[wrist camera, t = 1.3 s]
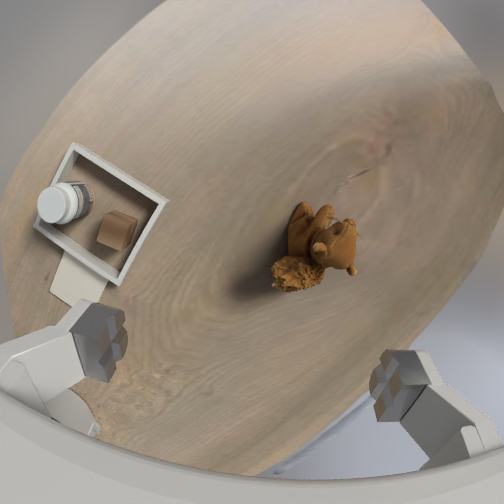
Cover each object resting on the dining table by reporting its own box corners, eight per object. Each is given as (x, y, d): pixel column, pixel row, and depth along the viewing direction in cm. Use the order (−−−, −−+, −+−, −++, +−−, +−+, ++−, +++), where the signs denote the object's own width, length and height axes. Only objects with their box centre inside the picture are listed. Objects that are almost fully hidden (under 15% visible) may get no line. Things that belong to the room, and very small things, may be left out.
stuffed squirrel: (353, 229, 48) (396, 247, 35) (300, 297, 49) (328, 335, 37) (308, 190, 45) (343, 196, 33) (253, 263, 47) (267, 295, 34)
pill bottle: (62, 212, 41) (30, 221, 32) (70, 177, 40) (38, 178, 30) (91, 221, 42) (63, 232, 33) (100, 185, 41) (72, 188, 31)
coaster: (91, 317, 46) (90, 319, 45) (51, 289, 44) (49, 291, 43) (110, 276, 44) (109, 277, 44) (67, 246, 42) (66, 247, 42)
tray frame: (124, 280, 45) (119, 286, 42) (42, 223, 41) (33, 226, 38) (169, 200, 43) (166, 202, 40) (80, 144, 39) (72, 142, 36)
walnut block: (130, 243, 44) (120, 251, 39) (107, 234, 43) (96, 240, 38) (138, 219, 43) (129, 224, 38) (115, 210, 42) (104, 214, 38)
